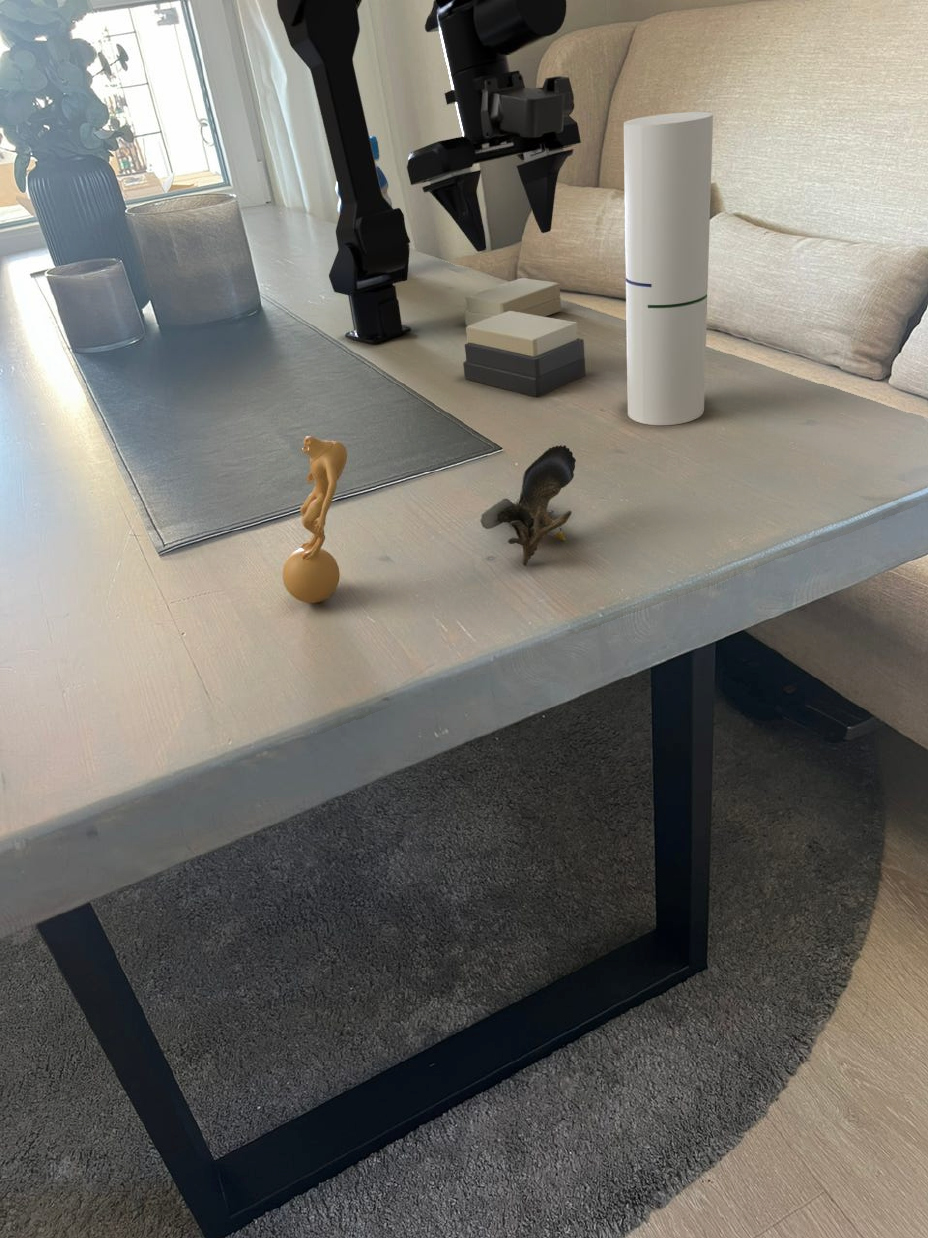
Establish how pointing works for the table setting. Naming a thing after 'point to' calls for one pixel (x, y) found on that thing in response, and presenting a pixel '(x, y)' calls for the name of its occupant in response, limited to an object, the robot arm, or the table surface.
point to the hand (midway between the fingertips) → (514, 241)
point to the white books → (514, 300)
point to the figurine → (316, 526)
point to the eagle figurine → (535, 501)
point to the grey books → (525, 368)
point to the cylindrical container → (667, 264)
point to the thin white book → (522, 333)
